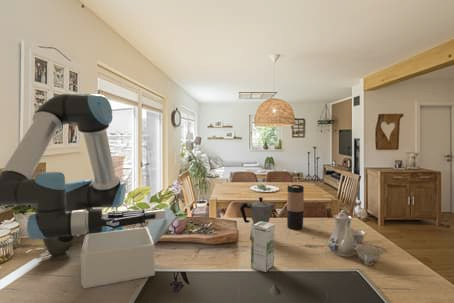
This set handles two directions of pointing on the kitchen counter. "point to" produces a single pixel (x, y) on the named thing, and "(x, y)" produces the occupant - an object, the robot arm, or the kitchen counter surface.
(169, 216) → the carton flap
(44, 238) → the robot arm
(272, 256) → the syrup box
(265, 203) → the coffeepot
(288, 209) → the travel mug
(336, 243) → the chinaware
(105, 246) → the carton
